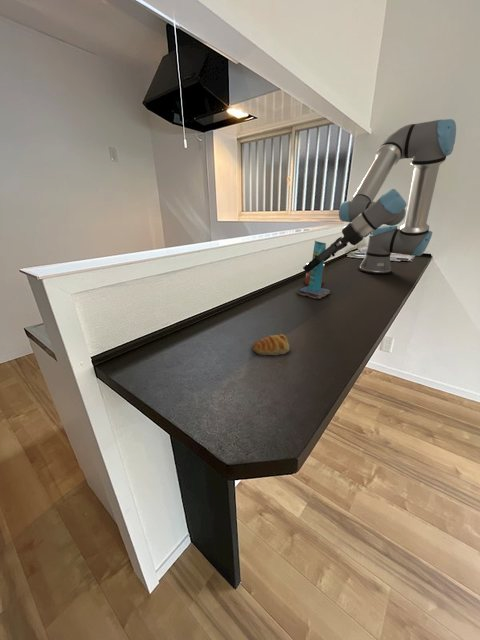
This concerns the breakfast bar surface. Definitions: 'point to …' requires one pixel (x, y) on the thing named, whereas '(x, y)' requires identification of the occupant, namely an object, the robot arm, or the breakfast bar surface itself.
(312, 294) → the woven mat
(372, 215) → the robot arm
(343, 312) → the breakfast bar surface
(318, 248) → the tube
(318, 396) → the breakfast bar surface
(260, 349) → the pastry
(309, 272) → the cup
